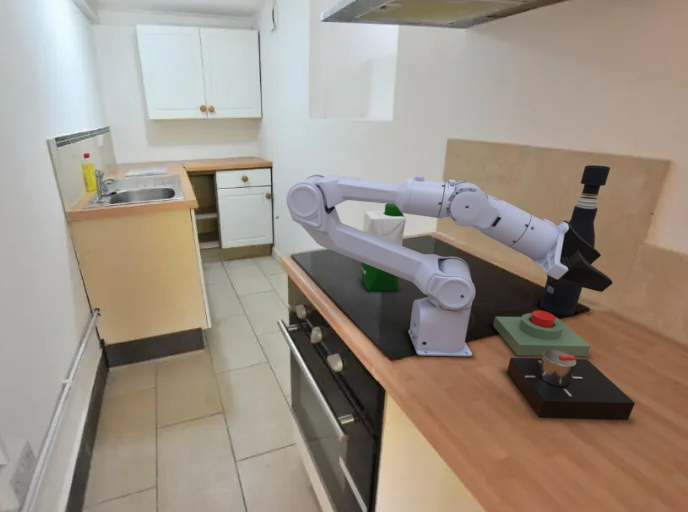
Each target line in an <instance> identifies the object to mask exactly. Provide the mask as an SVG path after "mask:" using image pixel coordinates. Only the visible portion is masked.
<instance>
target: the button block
mask: <svg viewBox="0 0 688 512" xmlns="http://www.w3.org/2000/svg"><path fill="white" fill-rule="evenodd" d="M531 316H532V312H528V313H525V314H522V315H521V316H495V317H494V319H493V325H492V326H493V328H494V329H495V330H496V331H497V333H498V334H499V335H500V336H501V338H502V339H503V340H504V341H505V342H506V344H507V345H508V346H509V347H510V348H511V350H512V351H513V352H514V353H515V355H516V356H535V357H536V356H538V357H539V356H540V357H543V354H544V352H545V351H547V350H557V351H561V352H564V353H566V354H568V355H573V356H574V357H582V358H583V357H588V354H589V352H590V349H591V345H590V344H589V343H588V342H587V341H586V340H584V339H583V338H582V337H581V336H579V334H578V333H576V332H575V331H573V330H572V329H571V328H570V327H569V326H568V325H566V323H564V322H563V321H562V320H561V319H560V318H558V317H555V321H554V324H553V327H552V328H545V327H541V326H537V325H535V324H533V323H531V322H530V320H531Z"/></svg>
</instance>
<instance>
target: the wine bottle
mask: <svg viewBox="0 0 688 512" xmlns="http://www.w3.org/2000/svg"><path fill="white" fill-rule="evenodd" d="M610 170H611V167H610V166H606V165H595V164H594V165H590V164H589V165H585V166H584V169H583V172H582V177H581V180H580V184H582V185H583V188H582V192H581V195H582V196H581V195H580V196H579V197H578V198H577V201H576V205H574V207H573V210H572V214H571V218H570V220H569V221H568V222H569V223H570V225H571V226H572V228H573V229H574V230H575V232H576V233H577V234H578V235H579V236H580V237H581V238H582V239H584V240H585V241H586V242H587V243H588V244H590V245H591V246H592V247H593V248H595V244H596V231H595V219H596V217H597V213H598V207H597V206H598V203H599V198H598V196H599V191H600V189H601V187H603V186H606V184H607V180H608V177H609V173H610ZM560 258H564V259H565V258H568V259H569V258H570V257H567V256H564V255H561V257H560ZM544 285H545V286H544V288H543V289H544V290H543V293H542V296H541V300H540V304H539V306H540V308H541V309H543V311H545V312H549V313H551V314H553V315H558V316H563V317H564V316H572V315H574V314H576V313H575V312H576V310H577V306H578V303H579V300H580V297H581V293H582V291H583V287H578V286H572V285H553V284H551V283H549V282H548V278H546V281H545V284H544Z"/></svg>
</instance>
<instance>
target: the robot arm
mask: <svg viewBox="0 0 688 512" xmlns="http://www.w3.org/2000/svg"><path fill="white" fill-rule="evenodd" d="M346 201H355V202H367V203H375V204H385V205H386V204H395V205H396V206H397V207H398V208H399V210H400V211H401V212H402V213H403V214H405V215H415V216H421V217H429V218H434V219H435V218H436V219H443V218H450V219H451V220H452V221H453V222H454V224H455V225H456V226H459V227H472V228H473V229H476V230H477V231H479V232H480V233H481V234H483V235H485V236H487V237H489V238H490V239H492V240H495V241H496V242H499V243H501V244H503V245H504V246H506V247H508V248H510V249H512V250H514V251H515V252H517V253H519V254H522V255H524V256H526V257H527V258H529V259H531V260H532V261H533V262H534V263H535V264H537V265H538V266H539V267H540V268H542V269H543V270H544V273H545V275H546V277H547V278H548V282H549V283H551V284H553V285H572V286H578V287H582V289H586V290H591V291H595V292H600V293H603V292H604V291H605V290H606V289H608V288H609V287H610V286H612V285H613V280H612V279H611V278H610V277H609V276H608V275H607V274H605V273H603V272H602V271H600V270H599V269H597V268H596V267H594V266H593V265H592V264H593V263H594V262H596V261H597V260H598V259H599V258H600V257H601V256H602V255H601V253H600V252H599V251H598V250H597V248H595V247H594V248H593V247H592V246H591V245H590V244H588V243H587V242H586V241H585V240H584V239H582V238H581V237H580V236H579V235H578V234H577V233H576V232H575V230H574V229H573V228H572V226H571V225H570V223H569V221H568V220H563V221H561V222H560V223H559V224H558V225H557V224H556V223H554V222H553V221H551V220H549V219H547V218H543V219H541V218H539V217H537V216H535V215H533V214H531V213H529V212H527V211H525V210H523V209H522V208H519V207H517V206H515V205H514V204H511V203H509V202H507V201H506V200H504V199H503V200H502V199H499V198H497V196H494V195H491V194H488V193H485V192H484V191H483V190H481V189H480V187H479V186H478V185H476V184H475V183H472V182H468V181H467V180H460V181H456V179H448V181H440V180H431V179H425V175H423V174H416V175H415V177H414V178H413V177H407V178H406V179H404V180H403V181H402V182H400V183H398V184H396V183H390V182H383V181H380V180H379V181H378V180H372V179H365V178H359V177H353V176H346V175H339V174H327V175H322V174H311V175H310V176H308V177H306V178H305V179H304V180H302V181H298V182H297V183H295V184H293V185H292V186H291V187H290V188H289V189H288V192H287V194H286V205H287V208H288V212H289V214H290V217H291V220H292V221H293V222H295V223H297V224H298V225H300V226H301V228H303V229H304V231H306V233H307V234H308V235H309V236H310V237H311V239H313V241H314V242H315V243H316V244H317V245H319V246H320V247H322V248H325V249H327V250H329V251H333V252H335V253H337V254H340V255H342V256H345V257H348V258H350V259H352V260H355V261H357V262H360V263H361V262H363V263H365V264H368V265H370V266H373V267H375V268H378V269H380V270H383V271H385V272H388V273H390V274H393V275H395V276H398V277H399V278H400V279H403V280H406V281H408V282H411V283H413V284H414V285H415V286H416V287H417V289H419V291H421V293H423V295H426V296H427V297H426V296H425V297H423V298H417V299H414V301H413V303H412V308H411V315H410V324H409V325H410V326H409V329H408V335H409V338H410V341H411V343H412V345H413V347H414V350H415V352H416V354H417V355H418V356H425V357H429V356H433V357H472V356H473V352H472V351H471V349H470V347H469V346H468V344H467V343H466V339H467V338H466V337H467V332H468V328H469V322H470V316H471V310H472V305H473V301H474V300H475V297H476V293H477V292H476V287H475V284H474V283H473V280H472V276H471V269H470V266H469V264H468V263H467V261H465V260H464V259H462V258H460V257H458V256H441V255H438V254H435V253H425V254H424V253H421V252H419V251H417V250H414V249H411V248H408V247H406V246H403V245H402V246H401V245H398V244H395V243H393V242H390V241H388V240H385V239H382V238H380V237H377V236H374V235H372V234H369V233H367V232H364V231H363V230H362V229H359V228H356V227H355V226H354V227H353V226H350V225H349V224H345V223H344V222H342V221H341V219H340V215H339V214H338V212H337V208H336V206H337V205H339V204H342V203H343V202H346ZM561 255H564V256H567V257H570V258H569V259H568V258H565V259H564V258H560V257H561ZM547 278H546V279H547Z"/></svg>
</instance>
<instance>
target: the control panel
mask: <svg viewBox="0 0 688 512" xmlns="http://www.w3.org/2000/svg"><path fill="white" fill-rule="evenodd" d="M542 358H543V357H510V358H509V362H508V367H507V372H506V373H507V375H508V376H509V378H510V380H511V381H512V382H513V383H514V384H515V386H516V388H517V389H518V390H519V391H520V393H521V395H522V396H523V397H524V399H525V400H526V401H527V402H528V405H530V407H531V408H532V410H533V411H534V412H535V414H536V415H537V416H538V418H546V419H575V420H576V419H579V420H580V419H581V420H611V421H613V420H617V421H618V420H619V421H628V420H629V418H630V416H631V414H632V412H633V409H634V407H635V404H636V402H635V401H634V400H632V399H631V398H630V397H629V396H628V395H627V394H626V393H625V392H624V391H623V390H621V388H619V387H618V386H617V384H615V383H614V382H613V381H612V380H611V379H609V377H607V376H606V375H605V374H604V373H603V372H602V371H601V370H600V369H598V368H597V367H596V366H595V365H594V364H593V363H592V362H591V361H590V360H589V359H587V358H575V360H576V366H575V369H574V372H573V375H572V378H571V381H570V384H569V385H567V386H556V385H552V384H550V383H547V382H546V381H544V380H543V379H541V378H540V376H539V374H538V372H539V368H540V365H541V361H542Z"/></svg>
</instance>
